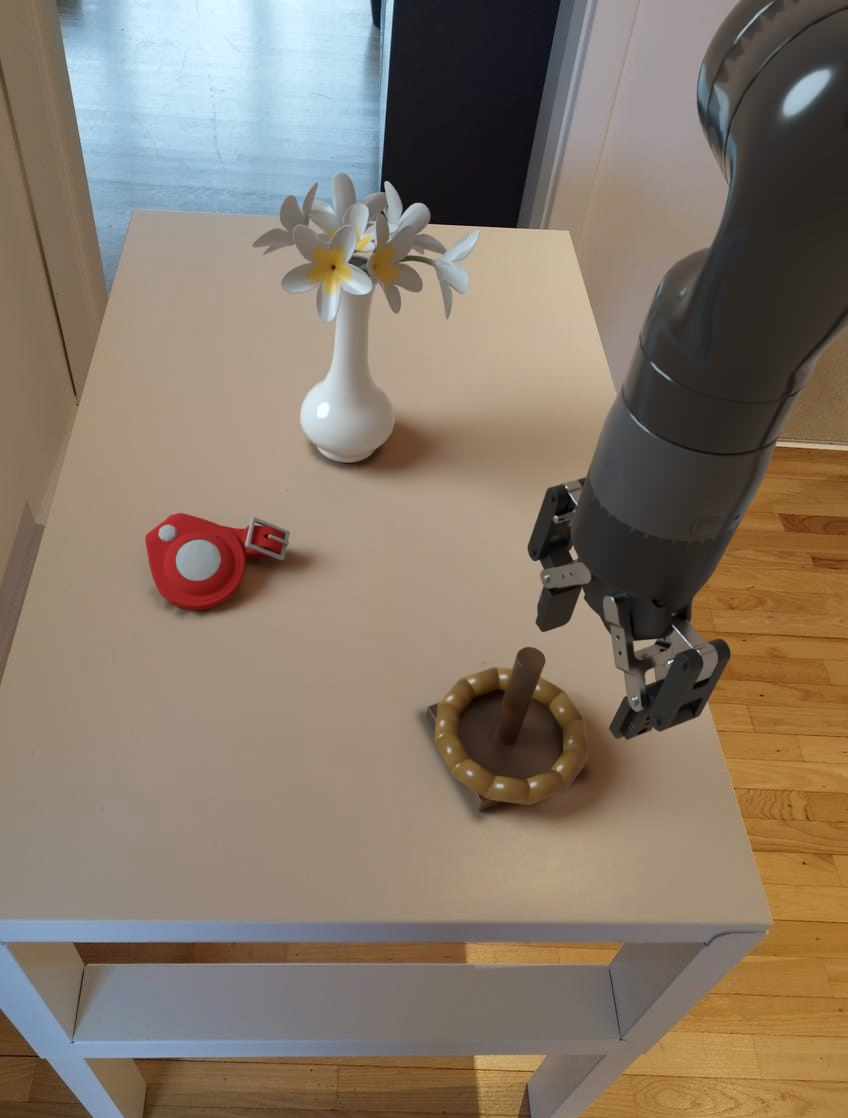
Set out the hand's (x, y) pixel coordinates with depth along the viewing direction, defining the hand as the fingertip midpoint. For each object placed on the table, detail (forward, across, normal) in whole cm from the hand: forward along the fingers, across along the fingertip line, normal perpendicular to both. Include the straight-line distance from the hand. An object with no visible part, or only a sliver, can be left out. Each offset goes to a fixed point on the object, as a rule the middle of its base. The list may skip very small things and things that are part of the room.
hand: (586, 675), depth 56 cm
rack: (+16, +5, 0) cm, 17 cm away
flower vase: (+16, +42, -3) cm, 45 cm away
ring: (+14, +5, 0) cm, 15 cm away
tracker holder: (+16, +30, +15) cm, 37 cm away
